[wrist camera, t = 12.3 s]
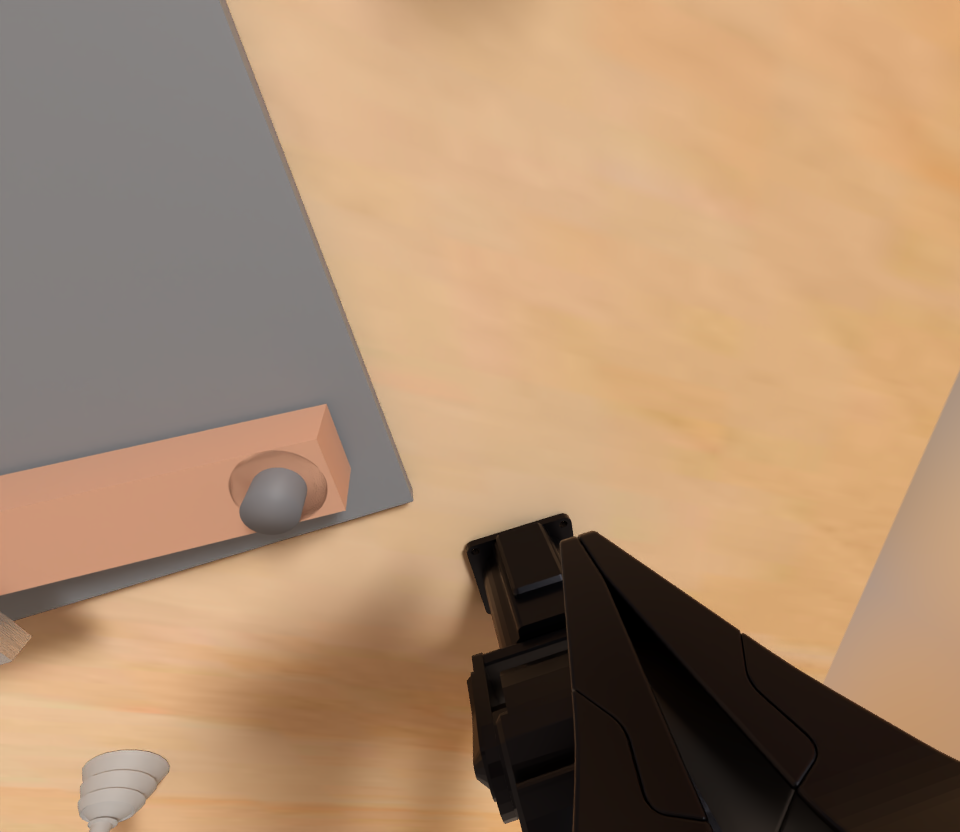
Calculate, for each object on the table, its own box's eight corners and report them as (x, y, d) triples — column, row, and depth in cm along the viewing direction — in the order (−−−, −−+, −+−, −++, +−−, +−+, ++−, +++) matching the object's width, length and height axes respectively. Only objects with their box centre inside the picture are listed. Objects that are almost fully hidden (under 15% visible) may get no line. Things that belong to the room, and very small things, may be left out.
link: (326, 403, 18) (310, 460, 14) (351, 468, 20) (342, 534, 16) (-141, 506, 16) (-302, 602, 12) (-69, 568, 18) (-191, 669, 14)
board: (412, 489, 23) (413, 500, 22) (-75, 634, 21) (-95, 653, 20) (183, -110, 12) (166, -135, 11) (-873, 92, 10) (-993, 83, 9)
